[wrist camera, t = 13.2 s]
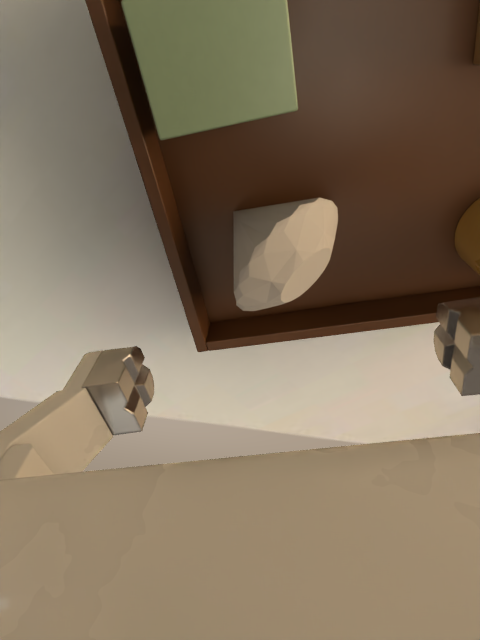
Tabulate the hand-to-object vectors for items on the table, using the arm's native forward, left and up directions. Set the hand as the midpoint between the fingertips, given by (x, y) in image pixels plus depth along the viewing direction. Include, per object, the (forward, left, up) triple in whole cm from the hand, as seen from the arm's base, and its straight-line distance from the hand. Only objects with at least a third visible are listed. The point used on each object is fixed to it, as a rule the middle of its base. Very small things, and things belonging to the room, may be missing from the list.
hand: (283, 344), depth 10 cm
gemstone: (0, -1, -10) cm, 10 cm away
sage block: (-1, +7, -10) cm, 12 cm away
